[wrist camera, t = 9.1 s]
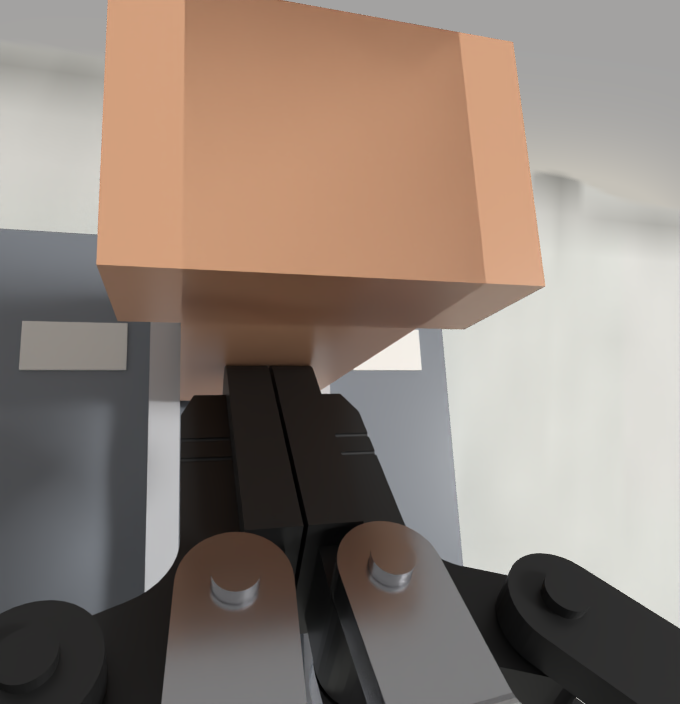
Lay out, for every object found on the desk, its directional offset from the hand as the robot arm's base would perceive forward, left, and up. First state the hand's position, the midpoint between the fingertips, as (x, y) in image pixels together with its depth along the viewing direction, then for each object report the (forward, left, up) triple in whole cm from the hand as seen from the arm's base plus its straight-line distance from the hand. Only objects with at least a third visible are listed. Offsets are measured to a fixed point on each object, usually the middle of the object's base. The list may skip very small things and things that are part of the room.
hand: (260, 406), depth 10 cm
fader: (0, +2, -5) cm, 5 cm away
